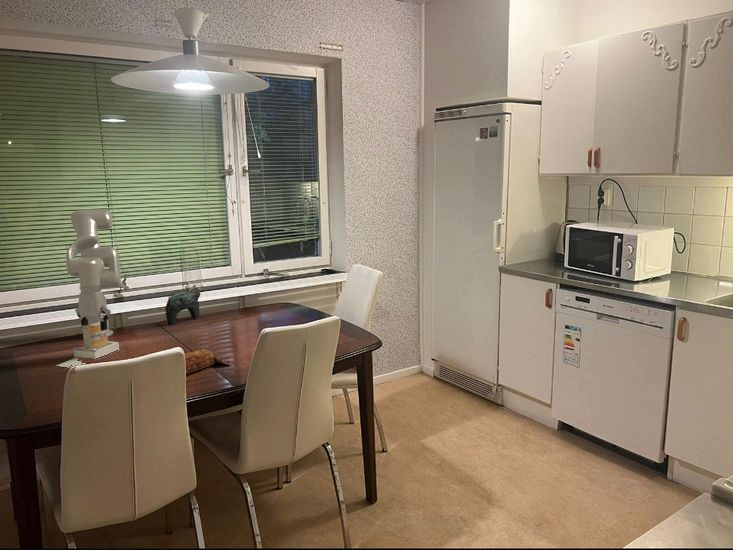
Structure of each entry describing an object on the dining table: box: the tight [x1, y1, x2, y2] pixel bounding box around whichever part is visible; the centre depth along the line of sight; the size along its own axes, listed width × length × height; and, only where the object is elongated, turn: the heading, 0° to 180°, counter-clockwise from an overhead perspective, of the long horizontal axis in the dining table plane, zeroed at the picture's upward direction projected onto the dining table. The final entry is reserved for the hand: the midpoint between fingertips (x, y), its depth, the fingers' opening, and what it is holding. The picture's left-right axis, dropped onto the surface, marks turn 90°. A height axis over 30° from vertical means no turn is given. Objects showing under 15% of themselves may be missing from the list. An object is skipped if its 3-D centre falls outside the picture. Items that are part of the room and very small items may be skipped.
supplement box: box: [81, 322, 109, 350], centre depth 236 cm, size 8×5×13 cm, turn 148°
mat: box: [55, 357, 86, 369], centre depth 225 cm, size 10×10×1 cm
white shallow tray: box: [72, 340, 120, 359], centre depth 237 cm, size 11×14×4 cm
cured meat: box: [184, 348, 233, 375], centre depth 218 cm, size 18×25×7 cm
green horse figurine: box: [165, 282, 201, 326], centre depth 287 cm, size 20×6×20 cm, turn 144°
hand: (94, 329), depth 235 cm, fingers open, 9 cm apart
